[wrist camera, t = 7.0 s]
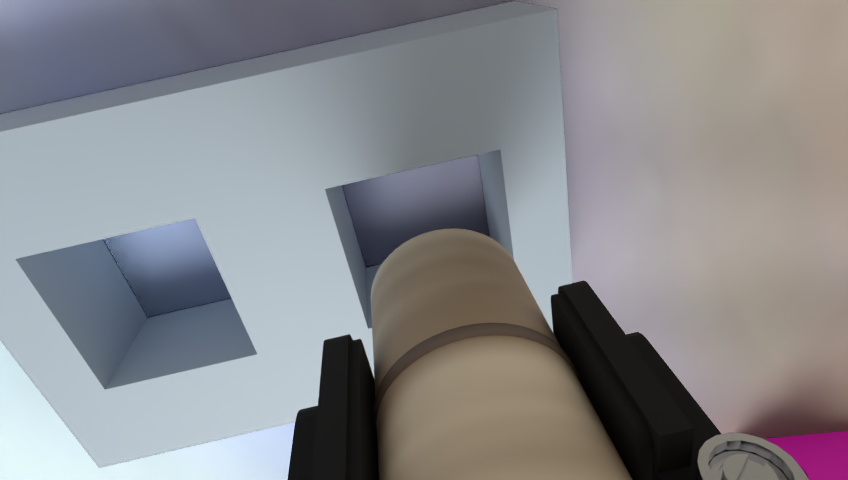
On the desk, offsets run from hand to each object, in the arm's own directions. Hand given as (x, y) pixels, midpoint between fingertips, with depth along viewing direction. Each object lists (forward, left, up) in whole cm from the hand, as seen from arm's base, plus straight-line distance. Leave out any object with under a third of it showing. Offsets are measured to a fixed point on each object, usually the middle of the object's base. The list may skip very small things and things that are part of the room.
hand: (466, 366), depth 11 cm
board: (-5, 0, -10) cm, 11 cm away
